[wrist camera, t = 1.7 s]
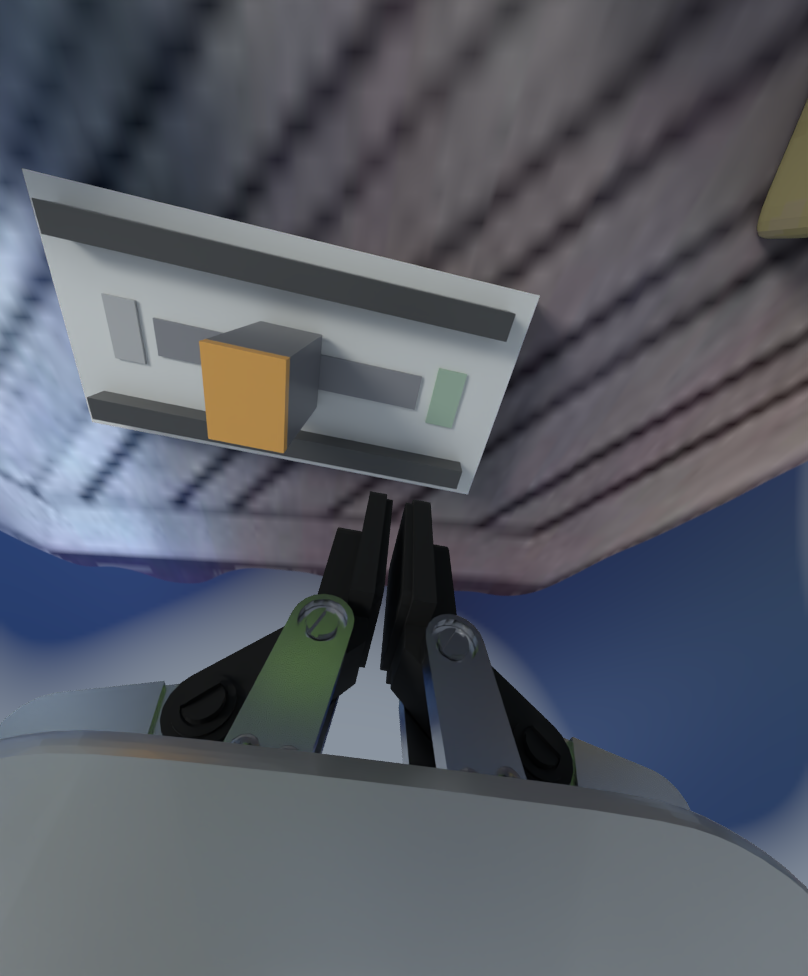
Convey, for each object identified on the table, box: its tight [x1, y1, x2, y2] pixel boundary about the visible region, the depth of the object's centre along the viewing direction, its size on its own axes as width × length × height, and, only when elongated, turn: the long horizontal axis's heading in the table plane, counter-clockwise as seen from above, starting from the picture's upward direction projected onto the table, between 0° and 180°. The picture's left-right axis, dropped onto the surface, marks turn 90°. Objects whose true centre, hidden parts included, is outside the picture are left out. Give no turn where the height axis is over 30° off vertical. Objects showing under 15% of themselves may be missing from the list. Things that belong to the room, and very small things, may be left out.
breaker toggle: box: [199, 321, 323, 453], centre depth 21 cm, size 5×4×8 cm
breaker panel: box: [22, 168, 540, 494], centre depth 25 cm, size 15×30×5 cm, turn 78°
